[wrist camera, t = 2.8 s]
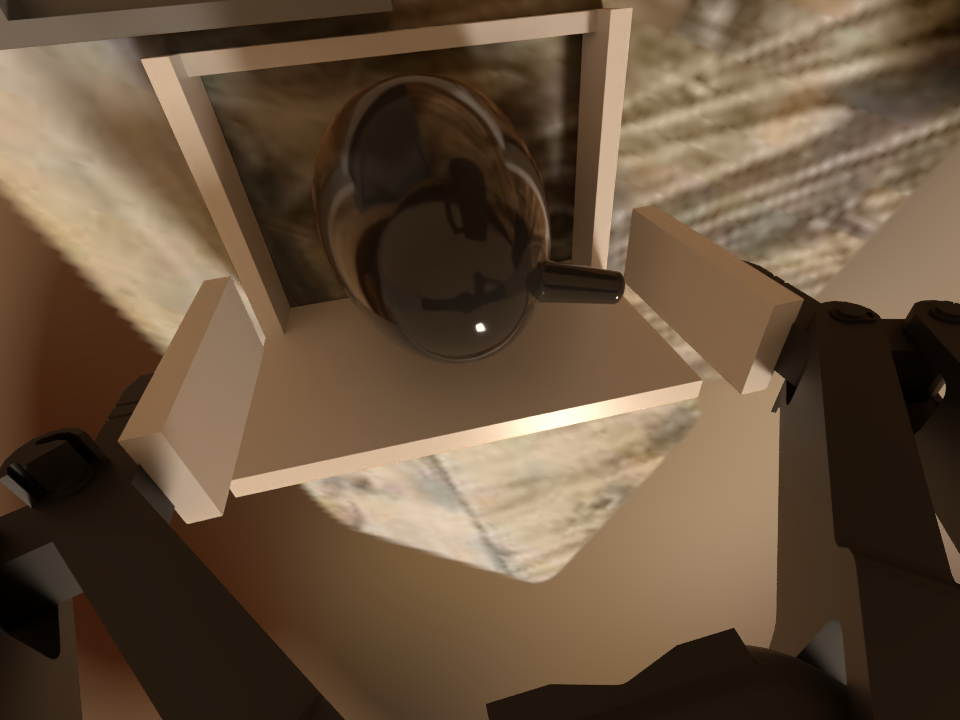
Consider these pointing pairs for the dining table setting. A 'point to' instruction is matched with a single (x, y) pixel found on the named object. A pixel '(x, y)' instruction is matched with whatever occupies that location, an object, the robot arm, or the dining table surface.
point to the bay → (368, 353)
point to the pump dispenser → (441, 220)
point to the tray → (154, 17)
